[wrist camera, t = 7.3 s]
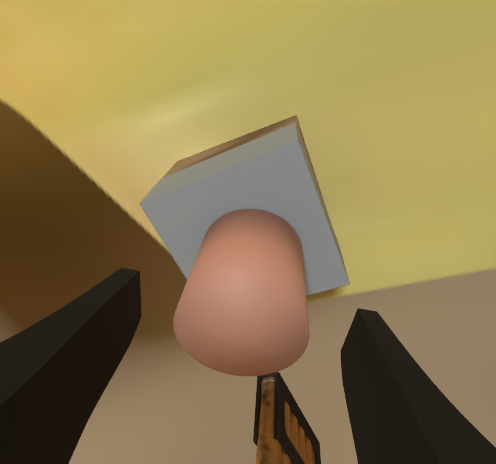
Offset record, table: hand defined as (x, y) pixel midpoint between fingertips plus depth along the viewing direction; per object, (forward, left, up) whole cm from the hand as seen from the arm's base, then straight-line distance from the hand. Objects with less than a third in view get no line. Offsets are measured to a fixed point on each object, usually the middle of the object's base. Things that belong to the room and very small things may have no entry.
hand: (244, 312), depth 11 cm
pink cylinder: (0, 0, -4) cm, 4 cm away
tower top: (0, 0, -7) cm, 7 cm away
